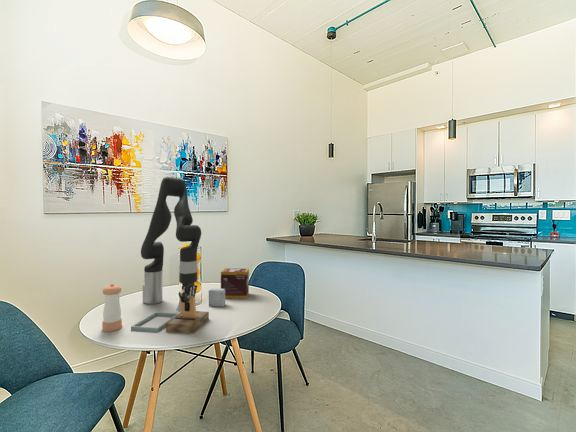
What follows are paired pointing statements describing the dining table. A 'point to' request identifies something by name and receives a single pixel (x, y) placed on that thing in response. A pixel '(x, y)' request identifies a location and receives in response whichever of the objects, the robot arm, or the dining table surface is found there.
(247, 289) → the supplement box
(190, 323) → the slotted wooden block
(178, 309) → the flask
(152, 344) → the dining table surface
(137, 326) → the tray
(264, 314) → the dining table surface
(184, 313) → the tan rectangular block
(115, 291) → the pepper shaker
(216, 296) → the grey cube
